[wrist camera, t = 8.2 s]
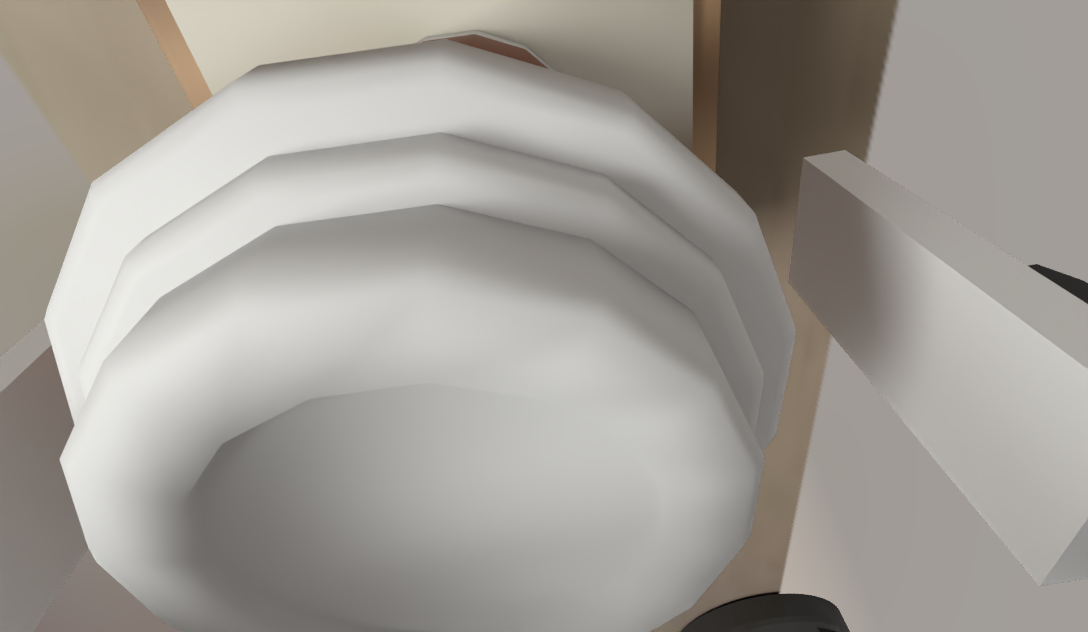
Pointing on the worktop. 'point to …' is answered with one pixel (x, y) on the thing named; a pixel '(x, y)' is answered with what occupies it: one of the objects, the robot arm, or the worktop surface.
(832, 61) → the worktop surface
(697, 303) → the coffee cup
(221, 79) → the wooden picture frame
